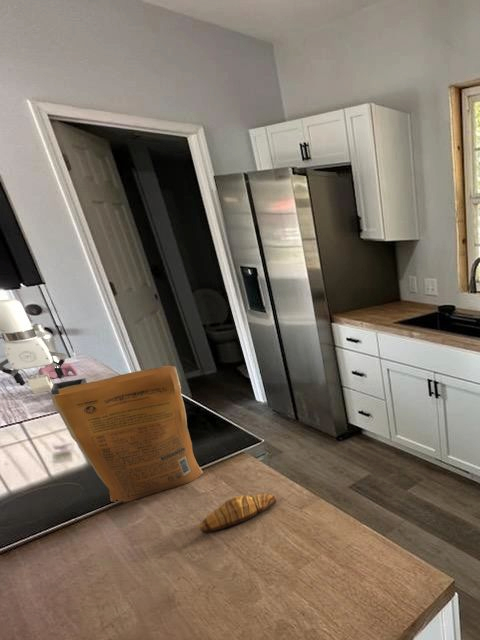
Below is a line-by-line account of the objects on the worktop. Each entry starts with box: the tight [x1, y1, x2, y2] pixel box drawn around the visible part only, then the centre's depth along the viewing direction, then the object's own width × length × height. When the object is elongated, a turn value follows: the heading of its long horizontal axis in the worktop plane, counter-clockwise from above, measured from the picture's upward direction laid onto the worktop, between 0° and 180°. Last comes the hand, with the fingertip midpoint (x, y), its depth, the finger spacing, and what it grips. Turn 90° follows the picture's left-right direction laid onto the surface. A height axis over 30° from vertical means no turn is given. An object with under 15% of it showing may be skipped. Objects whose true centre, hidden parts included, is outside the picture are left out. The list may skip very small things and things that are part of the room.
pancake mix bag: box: [50, 365, 204, 503], centre depth 88 cm, size 7×19×28 cm, turn 131°
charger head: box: [27, 372, 54, 394], centre depth 150 cm, size 4×6×6 cm
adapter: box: [50, 378, 88, 395], centre depth 148 cm, size 8×10×3 cm
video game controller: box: [37, 361, 79, 379], centre depth 162 cm, size 10×5×7 cm, turn 149°
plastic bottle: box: [31, 323, 60, 373], centre depth 165 cm, size 6×7×20 cm
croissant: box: [199, 493, 277, 534], centre depth 83 cm, size 14×7×5 cm, turn 135°
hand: (42, 381), depth 150 cm, fingers open, 9 cm apart
